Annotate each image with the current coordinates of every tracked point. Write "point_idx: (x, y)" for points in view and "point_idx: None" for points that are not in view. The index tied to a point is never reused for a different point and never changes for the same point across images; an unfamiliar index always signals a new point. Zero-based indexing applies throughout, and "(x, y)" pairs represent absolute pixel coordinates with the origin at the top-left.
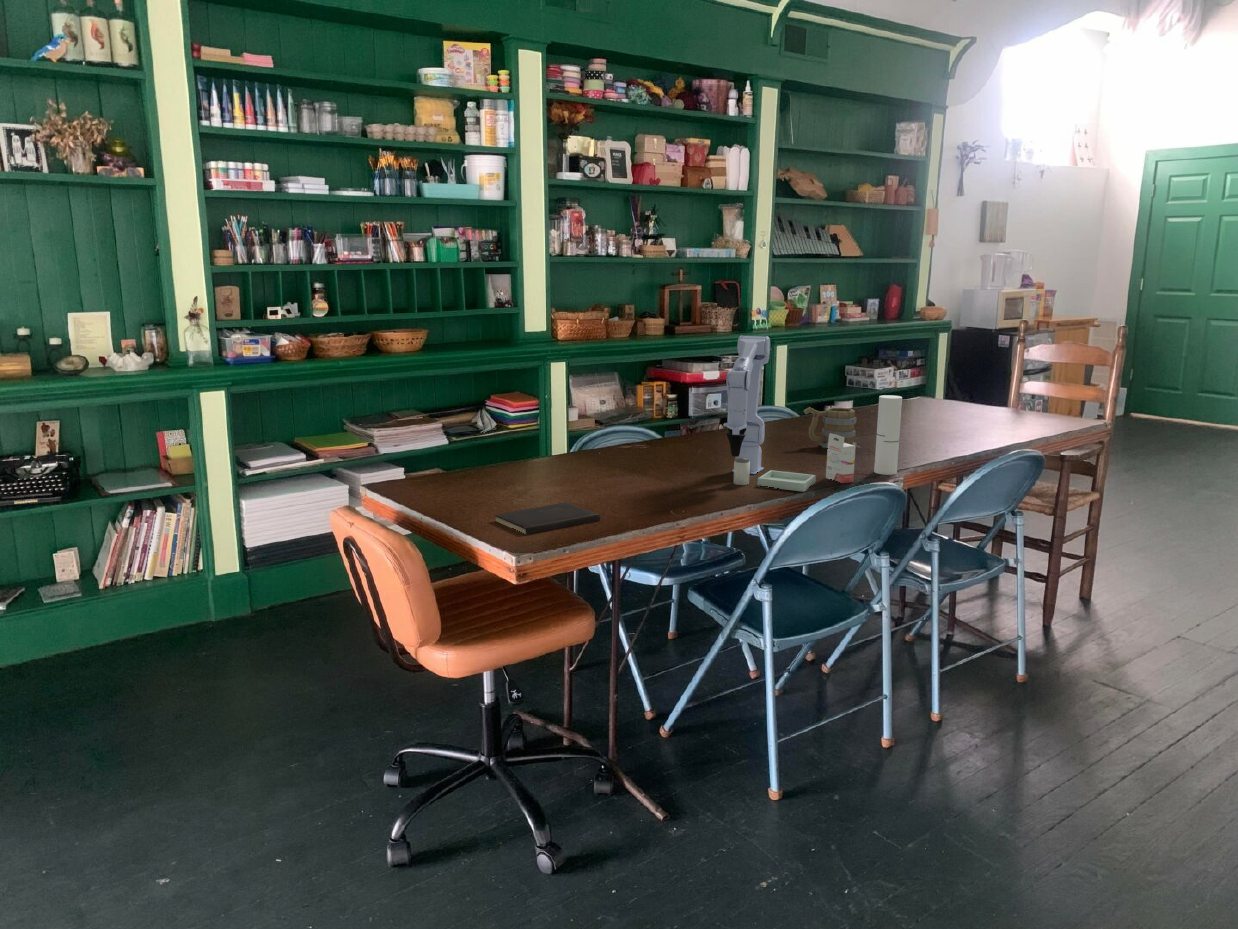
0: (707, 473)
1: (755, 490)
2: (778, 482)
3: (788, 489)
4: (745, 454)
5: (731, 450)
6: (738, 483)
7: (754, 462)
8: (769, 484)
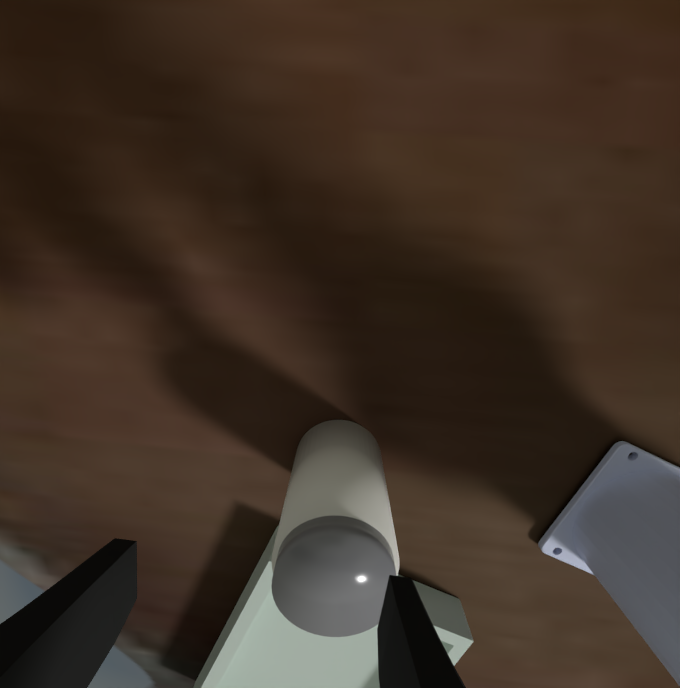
0: (606, 289)
1: (187, 505)
2: (227, 632)
3: (219, 636)
4: (670, 606)
5: (45, 594)
6: (299, 444)
7: (616, 601)
8: (250, 584)
